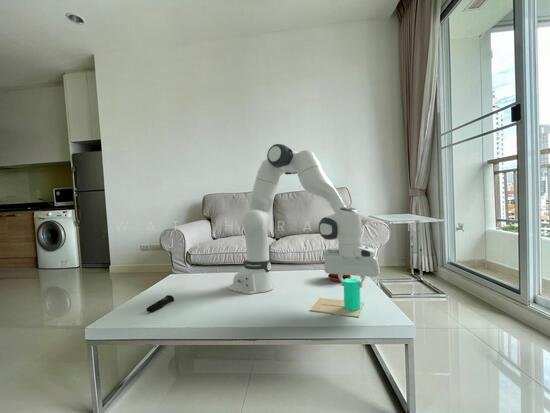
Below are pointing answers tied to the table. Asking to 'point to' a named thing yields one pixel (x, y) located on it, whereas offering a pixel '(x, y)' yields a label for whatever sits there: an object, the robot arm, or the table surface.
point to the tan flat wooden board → (334, 307)
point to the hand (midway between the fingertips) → (351, 286)
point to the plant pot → (335, 277)
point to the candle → (351, 294)
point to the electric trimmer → (160, 303)
